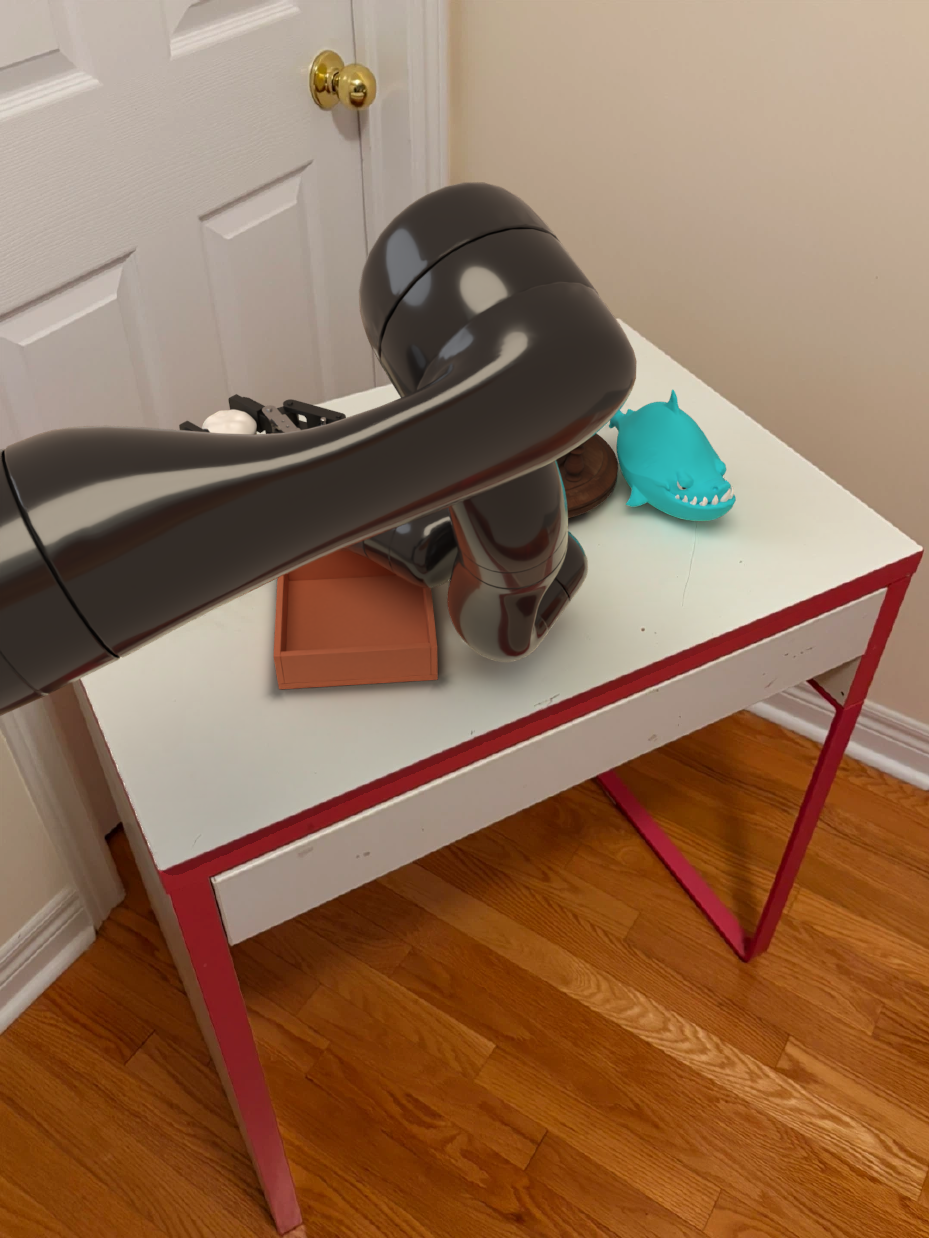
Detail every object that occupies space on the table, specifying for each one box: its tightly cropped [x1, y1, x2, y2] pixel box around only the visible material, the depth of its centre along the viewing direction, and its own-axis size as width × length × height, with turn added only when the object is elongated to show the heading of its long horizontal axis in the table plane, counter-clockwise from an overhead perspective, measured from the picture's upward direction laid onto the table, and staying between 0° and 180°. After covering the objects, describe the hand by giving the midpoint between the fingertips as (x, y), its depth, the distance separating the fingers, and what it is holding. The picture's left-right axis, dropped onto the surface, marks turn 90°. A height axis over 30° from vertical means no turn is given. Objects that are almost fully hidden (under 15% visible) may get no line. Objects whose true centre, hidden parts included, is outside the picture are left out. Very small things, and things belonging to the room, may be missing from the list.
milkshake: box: [201, 409, 258, 435], centre depth 90 cm, size 4×5×10 cm
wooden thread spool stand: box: [556, 432, 619, 519], centre depth 91 cm, size 15×15×20 cm
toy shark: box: [608, 389, 737, 522], centre depth 93 cm, size 10×18×11 cm, turn 30°
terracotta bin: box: [273, 548, 439, 690], centre depth 82 cm, size 12×12×4 cm
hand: (209, 418), depth 90 cm, fingers closed on milkshake, 4 cm apart
